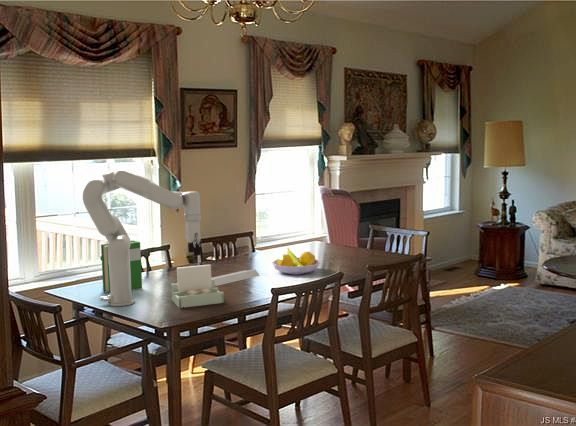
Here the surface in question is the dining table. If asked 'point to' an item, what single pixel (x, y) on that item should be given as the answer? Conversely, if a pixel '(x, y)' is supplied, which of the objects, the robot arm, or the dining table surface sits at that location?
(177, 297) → the tray
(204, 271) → the sheet
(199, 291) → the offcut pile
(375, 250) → the dining table surface
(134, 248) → the hardback book
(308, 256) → the fruit bowl
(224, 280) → the crown molding
